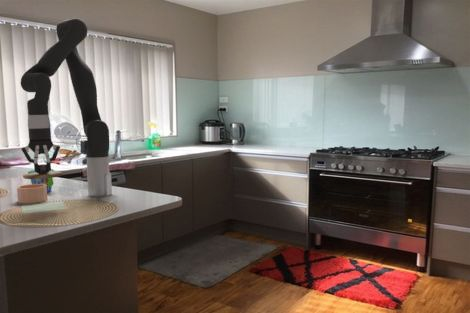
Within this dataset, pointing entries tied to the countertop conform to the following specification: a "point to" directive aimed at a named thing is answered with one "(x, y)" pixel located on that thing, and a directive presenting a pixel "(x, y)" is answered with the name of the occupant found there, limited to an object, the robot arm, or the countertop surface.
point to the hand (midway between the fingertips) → (42, 172)
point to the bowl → (32, 193)
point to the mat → (43, 207)
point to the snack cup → (43, 181)
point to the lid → (42, 173)
